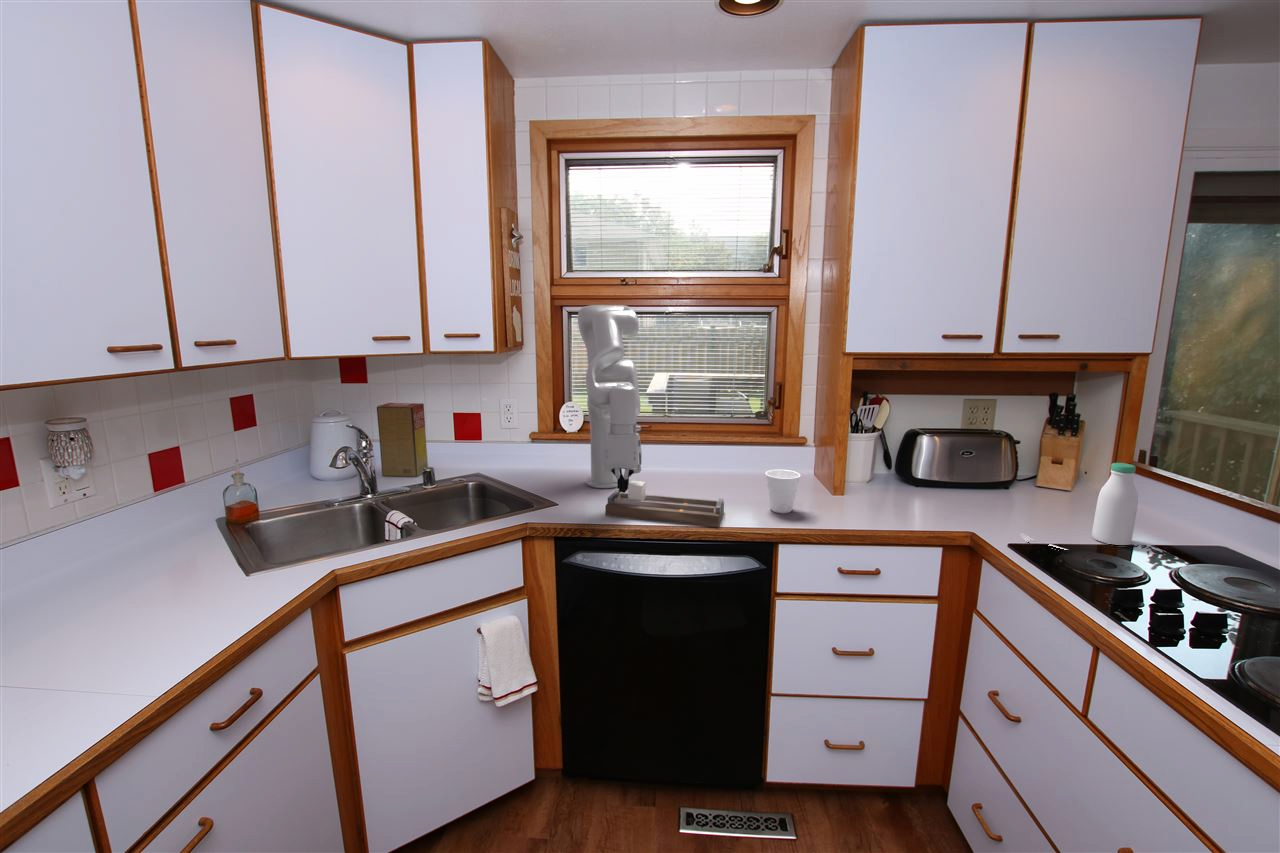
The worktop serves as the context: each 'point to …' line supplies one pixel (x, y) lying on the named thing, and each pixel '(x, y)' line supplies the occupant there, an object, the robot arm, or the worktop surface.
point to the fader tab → (637, 490)
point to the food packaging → (402, 439)
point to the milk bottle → (1116, 507)
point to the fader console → (666, 509)
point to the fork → (1032, 539)
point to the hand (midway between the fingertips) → (623, 491)
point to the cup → (782, 489)
